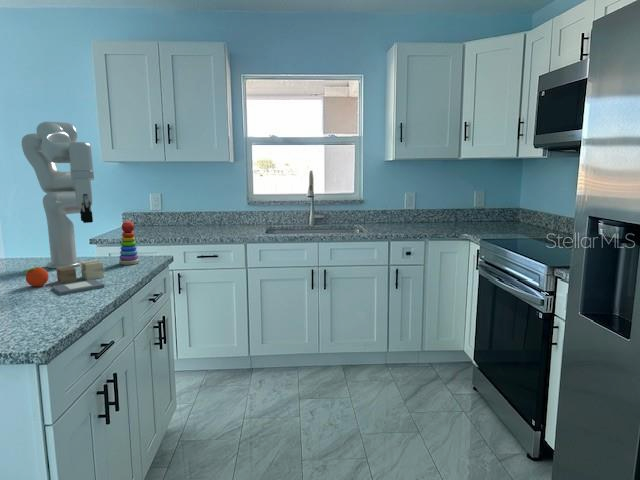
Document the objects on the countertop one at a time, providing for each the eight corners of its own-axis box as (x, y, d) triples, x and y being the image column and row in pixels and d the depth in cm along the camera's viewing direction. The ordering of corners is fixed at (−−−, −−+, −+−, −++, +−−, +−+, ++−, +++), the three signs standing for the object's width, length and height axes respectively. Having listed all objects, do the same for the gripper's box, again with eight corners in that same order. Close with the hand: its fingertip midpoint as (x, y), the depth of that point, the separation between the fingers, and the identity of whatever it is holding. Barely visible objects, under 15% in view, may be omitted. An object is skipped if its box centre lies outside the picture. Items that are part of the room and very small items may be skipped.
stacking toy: (131, 265, 191) (129, 222, 188) (115, 264, 192) (112, 222, 189) (142, 261, 198) (140, 220, 195) (126, 261, 200) (124, 220, 197)
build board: (52, 289, 154) (51, 286, 154) (94, 281, 164) (94, 279, 164) (60, 295, 147) (60, 291, 147) (104, 287, 157) (104, 284, 157)
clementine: (29, 290, 152) (27, 270, 151) (19, 287, 156) (17, 268, 154) (53, 285, 159) (51, 266, 158) (43, 282, 162) (41, 263, 161)
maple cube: (81, 277, 171) (80, 262, 170) (98, 274, 175) (97, 260, 174) (87, 280, 167) (85, 264, 166) (103, 277, 171) (102, 262, 170)
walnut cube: (57, 281, 165) (56, 268, 164) (72, 279, 168) (71, 266, 167) (61, 284, 161) (60, 270, 160) (76, 281, 165) (75, 268, 164)
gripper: (69, 176, 170) (74, 220, 172) (72, 175, 155) (77, 224, 158) (91, 176, 174) (95, 219, 176) (96, 175, 159) (100, 222, 162)
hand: (86, 221), depth 167 cm, fingers open, 9 cm apart
